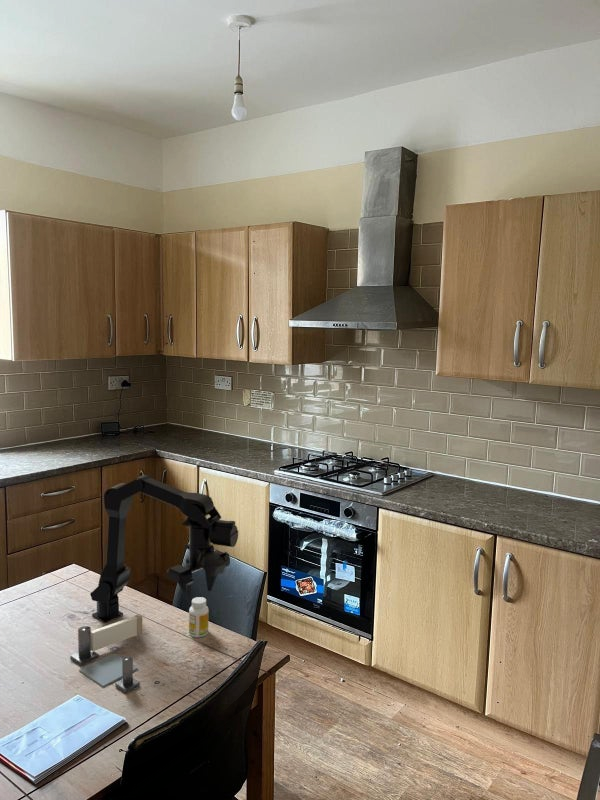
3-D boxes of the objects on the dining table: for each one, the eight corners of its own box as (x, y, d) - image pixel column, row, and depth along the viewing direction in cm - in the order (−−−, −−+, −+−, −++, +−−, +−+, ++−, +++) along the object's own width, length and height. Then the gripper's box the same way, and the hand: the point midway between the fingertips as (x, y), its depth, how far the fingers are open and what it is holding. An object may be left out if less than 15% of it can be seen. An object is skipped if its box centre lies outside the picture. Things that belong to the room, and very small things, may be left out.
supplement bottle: (209, 628, 172) (209, 595, 170) (207, 638, 166) (207, 604, 165) (190, 627, 171) (190, 595, 170) (187, 637, 166) (187, 604, 165)
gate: (93, 651, 155) (93, 633, 154) (90, 649, 156) (90, 630, 155) (142, 633, 164) (142, 616, 164) (139, 631, 166) (139, 614, 165)
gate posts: (70, 659, 154) (69, 629, 153) (87, 651, 158) (87, 622, 157) (123, 694, 140) (123, 662, 139) (141, 684, 144) (141, 653, 143)
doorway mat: (79, 671, 149) (79, 669, 149) (114, 654, 156) (114, 653, 156) (103, 687, 142) (103, 685, 142) (138, 669, 150) (138, 667, 150)
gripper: (194, 559, 153) (193, 617, 155) (244, 540, 168) (243, 593, 170) (165, 548, 160) (165, 603, 162) (216, 530, 175) (215, 581, 177)
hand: (199, 595), depth 167 cm, fingers open, 8 cm apart
